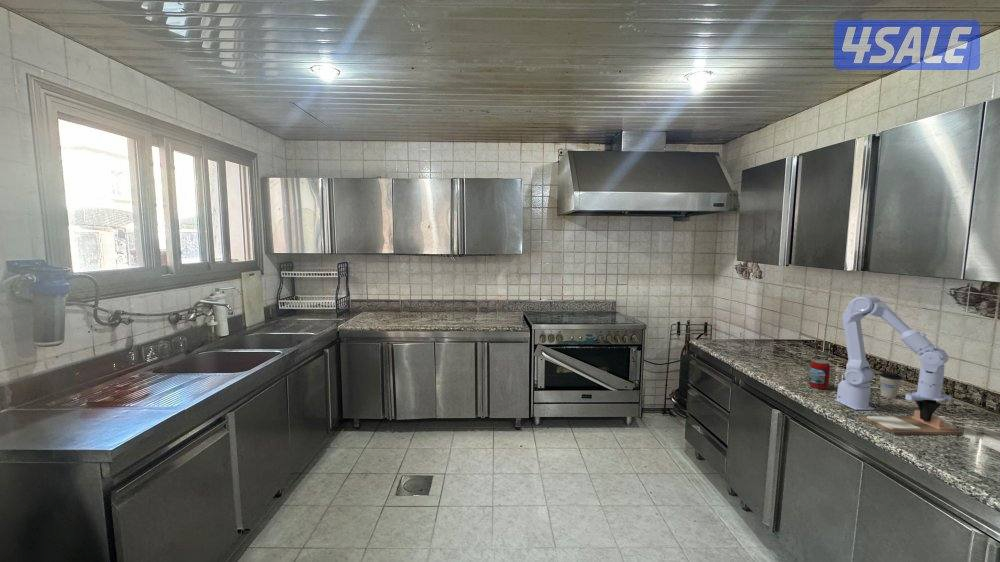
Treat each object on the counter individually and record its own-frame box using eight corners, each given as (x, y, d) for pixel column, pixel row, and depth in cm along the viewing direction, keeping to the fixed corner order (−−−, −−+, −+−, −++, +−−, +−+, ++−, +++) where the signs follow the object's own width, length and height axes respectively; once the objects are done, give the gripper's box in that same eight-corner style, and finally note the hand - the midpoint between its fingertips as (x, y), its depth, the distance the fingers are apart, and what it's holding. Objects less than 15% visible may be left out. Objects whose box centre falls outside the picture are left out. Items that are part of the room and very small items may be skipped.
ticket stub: (911, 417, 143) (912, 409, 143) (927, 417, 143) (928, 409, 143) (939, 429, 134) (941, 421, 134) (956, 429, 134) (957, 421, 134)
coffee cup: (887, 393, 170) (890, 370, 168) (904, 399, 163) (907, 376, 162) (872, 393, 169) (874, 370, 168) (888, 399, 162) (891, 376, 161)
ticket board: (860, 418, 144) (860, 414, 144) (922, 418, 145) (923, 414, 145) (893, 434, 132) (894, 430, 132) (961, 434, 133) (962, 430, 133)
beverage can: (804, 385, 177) (807, 359, 176) (815, 383, 179) (818, 358, 178) (821, 390, 171) (823, 364, 170) (831, 389, 173) (834, 362, 172)
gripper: (923, 387, 133) (917, 425, 134) (963, 387, 133) (958, 425, 135) (901, 379, 140) (896, 415, 141) (940, 379, 140) (934, 416, 142)
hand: (925, 420), depth 138 cm, fingers closed, pressing on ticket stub
